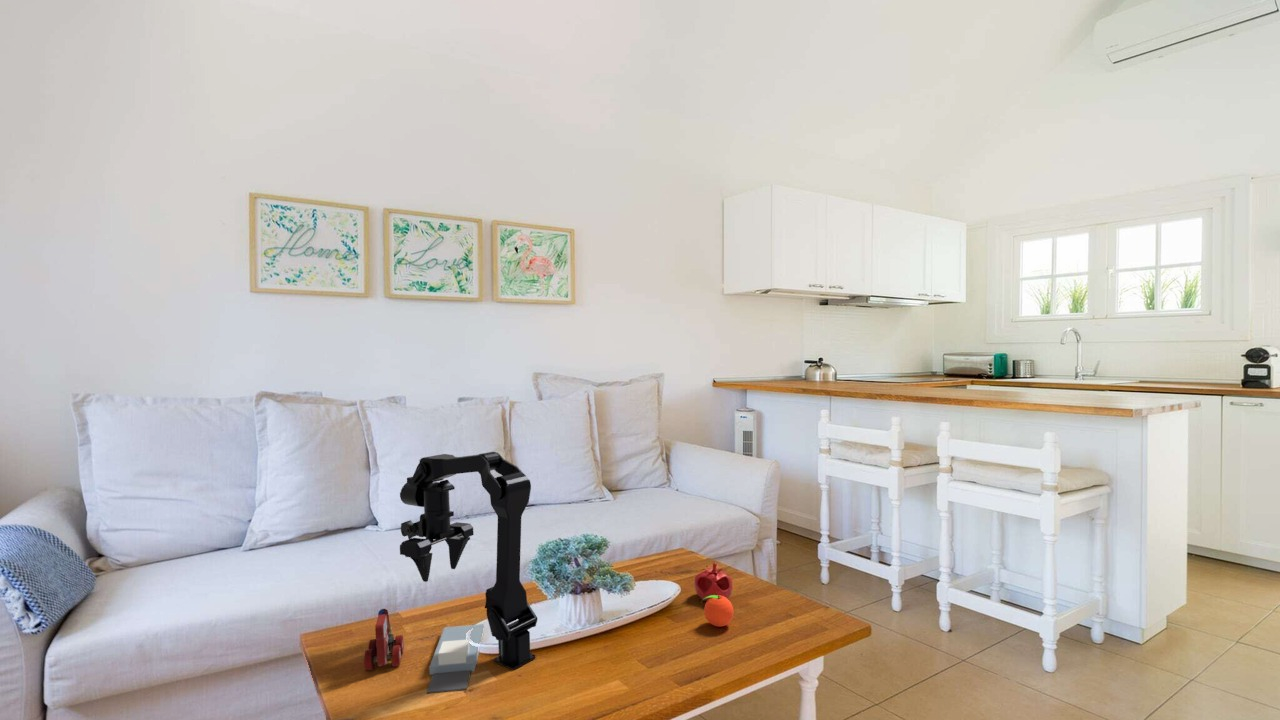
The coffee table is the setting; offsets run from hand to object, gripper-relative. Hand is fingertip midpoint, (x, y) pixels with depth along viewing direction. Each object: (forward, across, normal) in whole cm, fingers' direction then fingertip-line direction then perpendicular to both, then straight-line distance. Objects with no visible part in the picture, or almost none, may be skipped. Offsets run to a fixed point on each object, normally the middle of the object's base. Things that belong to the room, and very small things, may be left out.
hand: (439, 575), depth 149 cm
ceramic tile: (+12, +11, +13) cm, 21 cm away
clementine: (+15, -29, +58) cm, 67 cm away
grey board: (+14, +6, +10) cm, 18 cm away
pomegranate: (+15, -44, +52) cm, 70 cm away
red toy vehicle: (+14, +15, -2) cm, 21 cm away
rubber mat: (+14, +17, +17) cm, 28 cm away
